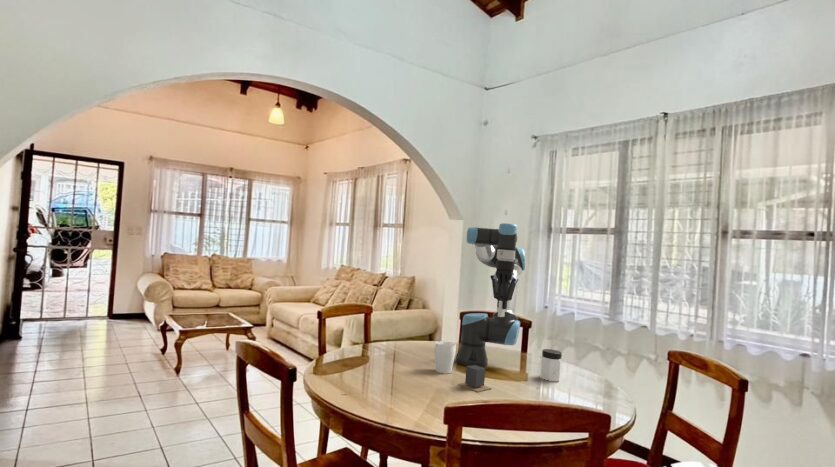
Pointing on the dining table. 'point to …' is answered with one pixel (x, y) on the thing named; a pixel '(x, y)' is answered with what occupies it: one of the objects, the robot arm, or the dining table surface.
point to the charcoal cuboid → (475, 376)
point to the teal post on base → (477, 389)
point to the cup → (444, 356)
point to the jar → (550, 364)
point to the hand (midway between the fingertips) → (501, 316)
